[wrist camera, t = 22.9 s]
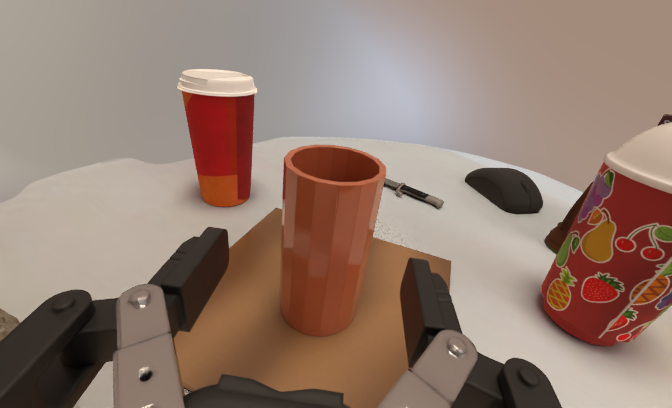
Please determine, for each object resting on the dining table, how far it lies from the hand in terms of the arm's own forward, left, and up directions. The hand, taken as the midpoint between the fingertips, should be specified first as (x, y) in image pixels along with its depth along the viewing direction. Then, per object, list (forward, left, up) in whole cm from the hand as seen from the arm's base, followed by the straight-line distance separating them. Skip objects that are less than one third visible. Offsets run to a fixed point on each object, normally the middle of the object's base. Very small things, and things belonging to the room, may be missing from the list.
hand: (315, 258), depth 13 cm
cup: (-2, +6, -10) cm, 12 cm away
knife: (-1, +31, -10) cm, 33 cm away
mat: (-2, +7, -10) cm, 13 cm away
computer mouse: (+15, +39, -11) cm, 43 cm away
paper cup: (-19, +17, -11) cm, 28 cm away
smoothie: (+19, +15, -11) cm, 27 cm away
